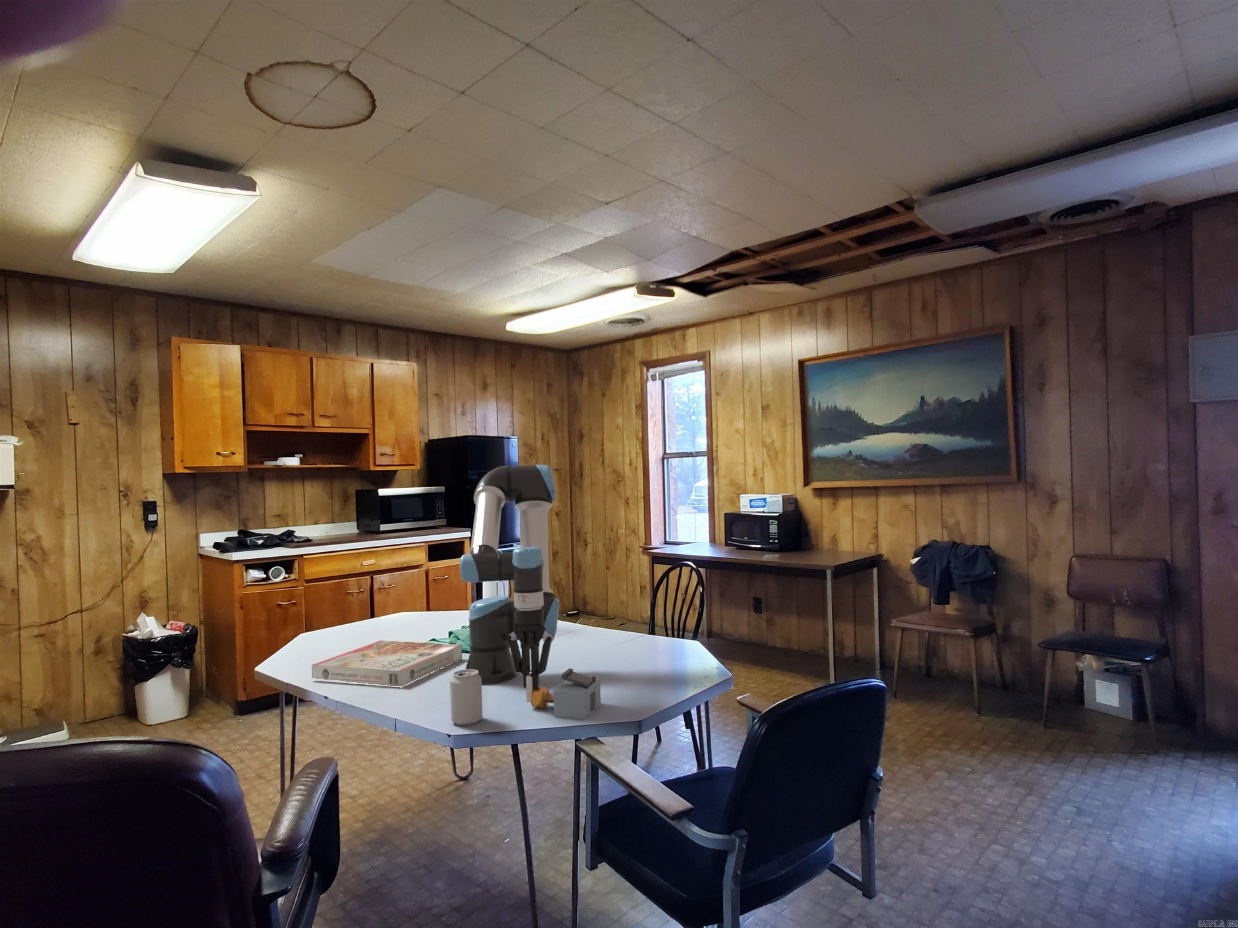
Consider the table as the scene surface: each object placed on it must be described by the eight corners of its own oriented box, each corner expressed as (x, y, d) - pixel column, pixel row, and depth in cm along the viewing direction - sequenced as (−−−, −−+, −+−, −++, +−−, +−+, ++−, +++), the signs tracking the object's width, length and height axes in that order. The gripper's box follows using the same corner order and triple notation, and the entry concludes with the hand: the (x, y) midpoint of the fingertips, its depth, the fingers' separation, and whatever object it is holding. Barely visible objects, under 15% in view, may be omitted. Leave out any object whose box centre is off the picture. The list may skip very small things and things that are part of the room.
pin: (531, 709, 176) (530, 689, 176) (538, 703, 181) (538, 684, 181) (579, 713, 173) (578, 692, 173) (586, 706, 177) (585, 686, 178)
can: (461, 715, 174) (459, 666, 175) (488, 717, 172) (486, 668, 173) (445, 725, 167) (443, 675, 168) (473, 727, 165) (471, 676, 165)
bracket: (554, 716, 171) (553, 690, 171) (571, 701, 182) (570, 676, 182) (585, 719, 169) (584, 691, 169) (600, 703, 180) (599, 677, 180)
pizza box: (380, 640, 240) (461, 644, 230) (381, 656, 240) (462, 660, 230) (311, 664, 210) (401, 671, 200) (312, 682, 210) (401, 689, 200)
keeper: (559, 679, 173) (561, 674, 173) (569, 672, 180) (571, 666, 180) (587, 688, 171) (588, 683, 171) (596, 680, 178) (597, 675, 178)
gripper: (499, 609, 178) (501, 703, 177) (546, 611, 174) (549, 706, 173) (512, 604, 185) (515, 694, 184) (558, 605, 181) (560, 697, 180)
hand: (531, 700), depth 179 cm, fingers closed
